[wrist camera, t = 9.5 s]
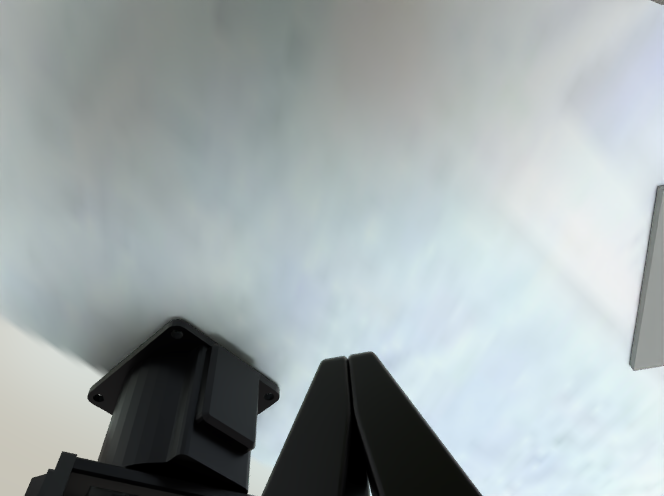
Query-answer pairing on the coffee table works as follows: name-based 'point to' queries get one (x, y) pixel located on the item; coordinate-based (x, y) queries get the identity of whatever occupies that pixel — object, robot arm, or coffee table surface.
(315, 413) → the robot arm
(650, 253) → the mat
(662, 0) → the grey wooden rounded board
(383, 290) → the coffee table surface
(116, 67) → the coffee table surface
